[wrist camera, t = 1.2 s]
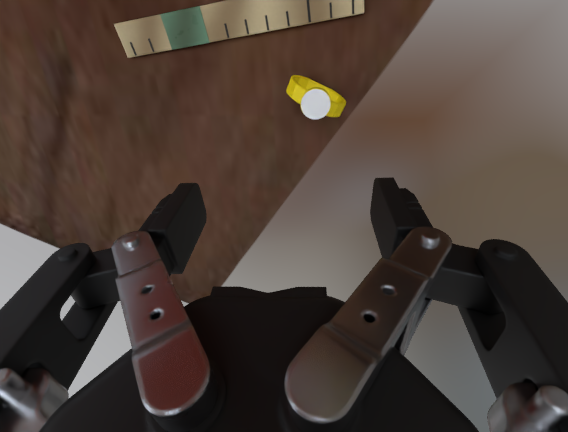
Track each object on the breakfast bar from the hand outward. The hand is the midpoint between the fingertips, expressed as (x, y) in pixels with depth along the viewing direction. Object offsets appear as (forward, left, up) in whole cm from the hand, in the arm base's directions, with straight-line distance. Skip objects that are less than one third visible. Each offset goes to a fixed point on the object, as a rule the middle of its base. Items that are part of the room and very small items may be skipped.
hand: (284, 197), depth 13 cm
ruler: (+5, -7, -22) cm, 24 cm away
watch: (-2, +1, -22) cm, 22 cm away
